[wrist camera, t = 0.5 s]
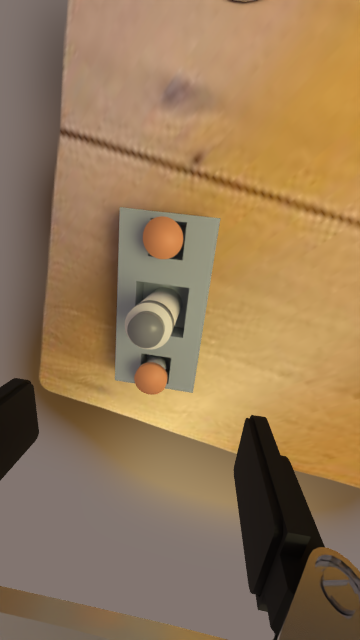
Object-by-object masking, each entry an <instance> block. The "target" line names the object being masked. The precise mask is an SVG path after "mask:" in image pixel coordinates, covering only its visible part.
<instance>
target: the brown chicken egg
mask: <svg viewBox="0 0 360 640" xmlns="http://www.w3.org/2000/svg"><path fill="white" fill-rule="evenodd" d="M143 243H144V246H145V248H146V250H147V252H148V253H149V254H150V255H152V256H153V257H155V258H158V259H169V258H172V257H174V256H175V255H176V254H177V253H178V252H179V251H180V249H181V247H182V245H183V233H182V230H181V228H180V226H179V225H178V224H177V223H176V222H175V221H174V220H173V219H171V218H169V217H164V216H160V217H156V218H154V219H152V220H151V221H149V222H148V224H147V225H146V227H145V229H144V232H143Z"/></svg>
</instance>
